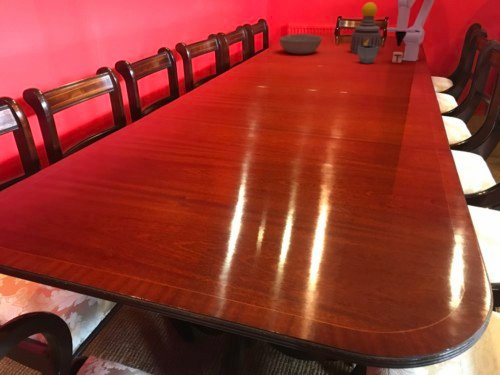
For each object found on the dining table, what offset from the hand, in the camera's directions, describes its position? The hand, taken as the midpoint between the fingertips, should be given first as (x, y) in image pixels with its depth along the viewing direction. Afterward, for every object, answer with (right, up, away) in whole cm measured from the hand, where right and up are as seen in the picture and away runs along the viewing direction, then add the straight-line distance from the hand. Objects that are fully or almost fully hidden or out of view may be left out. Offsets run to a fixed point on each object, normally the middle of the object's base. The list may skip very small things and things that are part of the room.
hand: (398, 45), depth 222 cm
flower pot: (-16, -7, +7) cm, 19 cm away
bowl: (-51, +9, +39) cm, 65 cm away
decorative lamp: (-9, +9, +37) cm, 39 cm away
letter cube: (+2, -6, +9) cm, 11 cm away
